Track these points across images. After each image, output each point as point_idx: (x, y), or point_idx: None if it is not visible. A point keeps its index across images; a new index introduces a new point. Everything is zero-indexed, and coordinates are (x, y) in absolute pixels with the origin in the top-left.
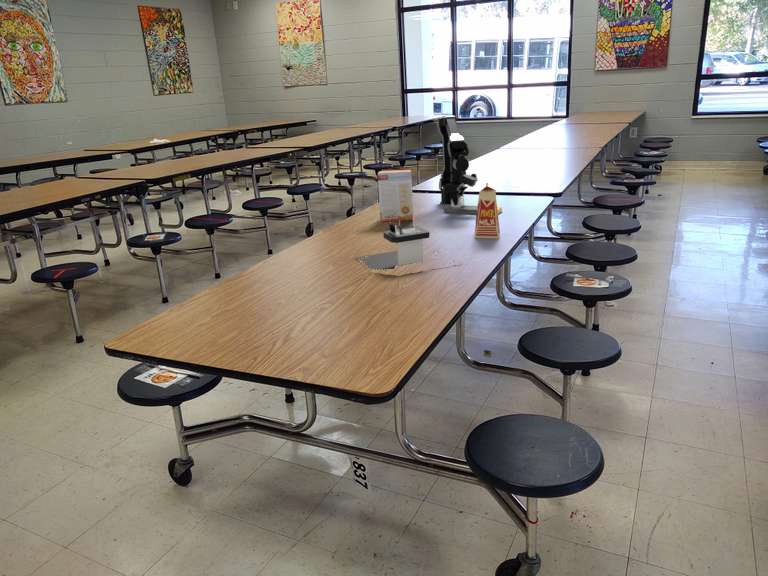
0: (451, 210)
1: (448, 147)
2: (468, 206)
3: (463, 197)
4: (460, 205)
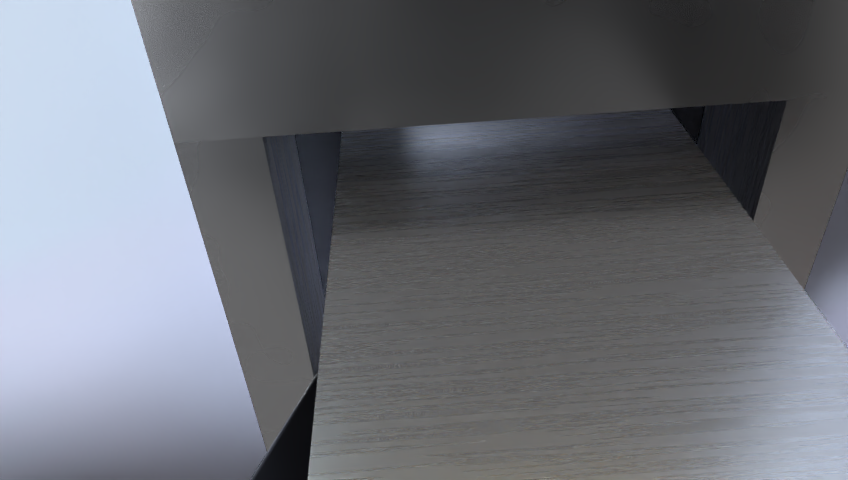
0: None
1: None
2: (342, 13)
3: (433, 477)
4: (744, 228)
